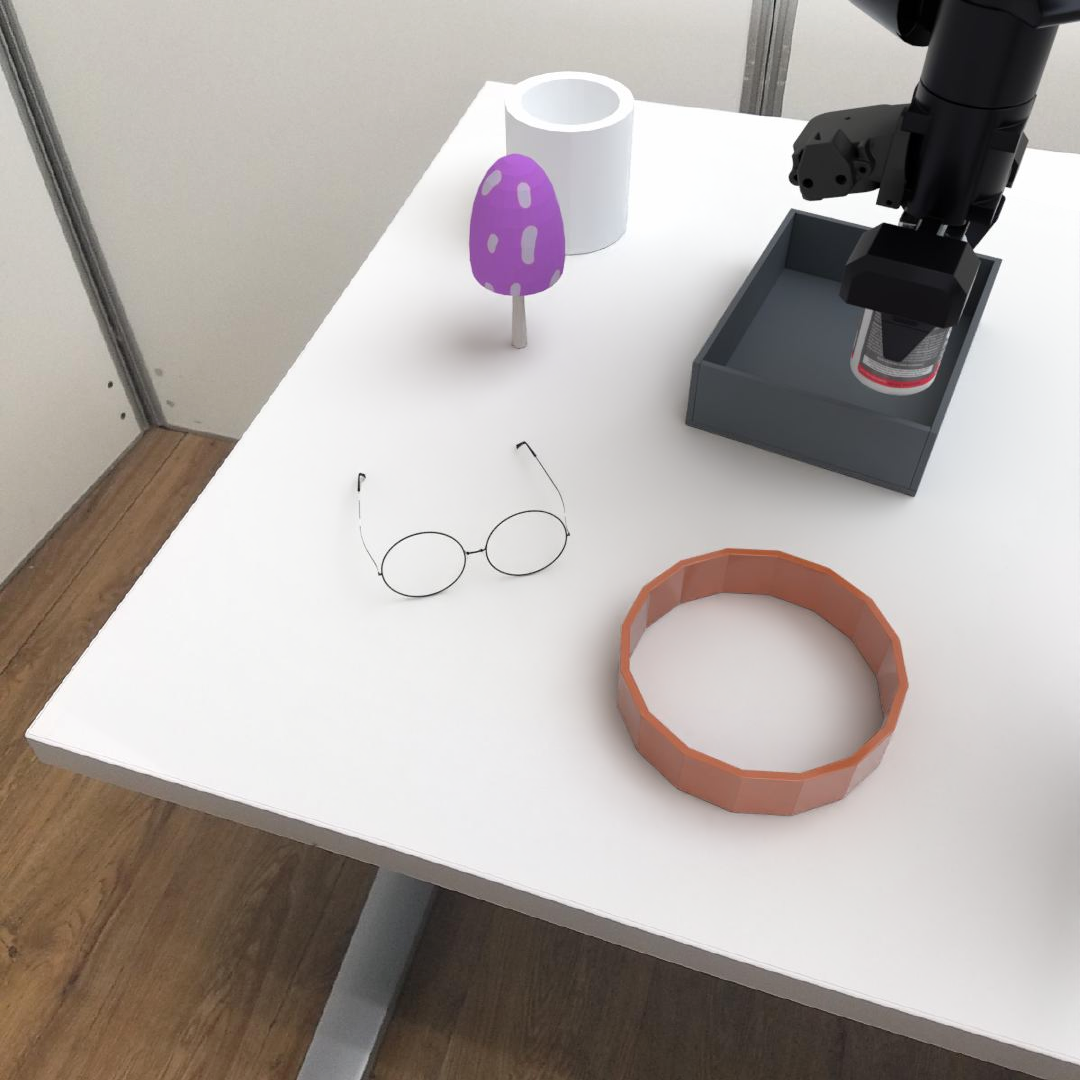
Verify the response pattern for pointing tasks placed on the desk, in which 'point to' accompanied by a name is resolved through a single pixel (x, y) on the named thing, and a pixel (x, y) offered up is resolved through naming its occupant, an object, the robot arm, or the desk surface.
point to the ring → (792, 584)
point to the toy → (516, 235)
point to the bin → (820, 364)
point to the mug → (577, 149)
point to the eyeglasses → (461, 545)
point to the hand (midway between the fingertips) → (903, 333)
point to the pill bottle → (890, 374)
